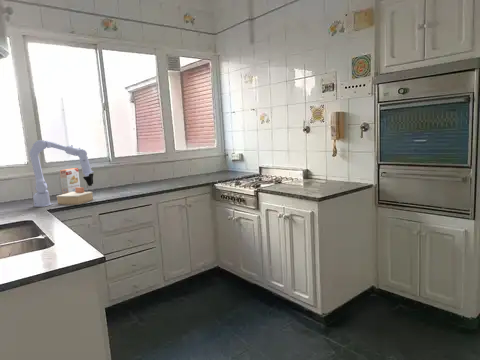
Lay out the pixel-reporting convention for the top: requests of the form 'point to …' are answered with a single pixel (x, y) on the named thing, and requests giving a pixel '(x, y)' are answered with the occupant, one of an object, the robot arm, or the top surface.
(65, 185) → the cracker box
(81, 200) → the wooden drawer
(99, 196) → the top surface
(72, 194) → the lid
